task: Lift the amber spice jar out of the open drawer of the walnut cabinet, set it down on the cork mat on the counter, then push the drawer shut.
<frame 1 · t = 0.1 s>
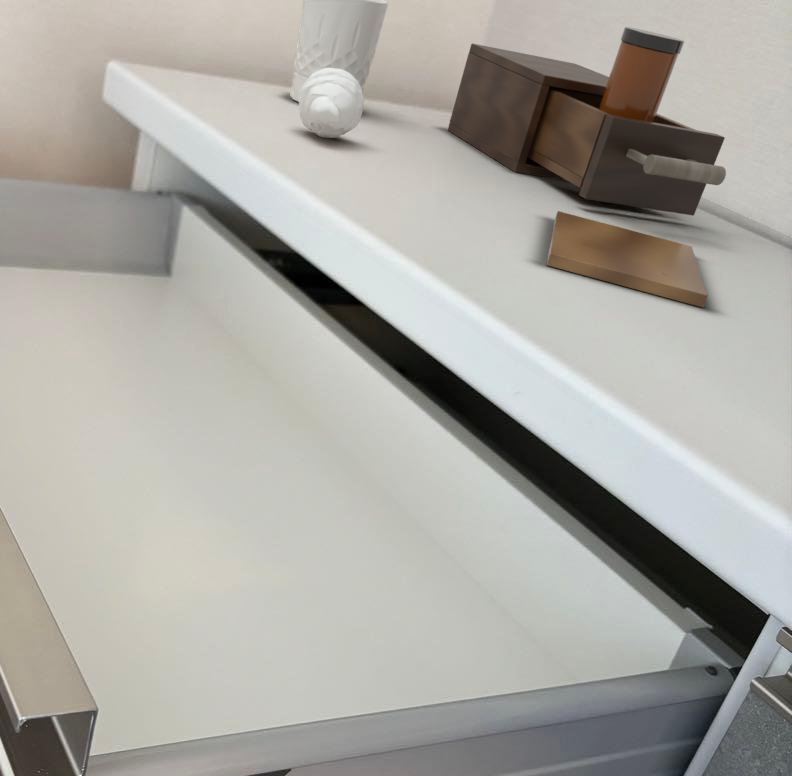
white tapered cylinder: (322, 106, 108), on the table
cork mat: (621, 260, 75), on the table
cabinet: (532, 158, 104), on the table
drawer: (622, 152, 91), point 4 cm above the table, slide at 10.0 cm, touching spice jar
spice jar: (605, 172, 93), point 2 cm above the table, touching drawer
garlic bulb: (322, 142, 92), on the table
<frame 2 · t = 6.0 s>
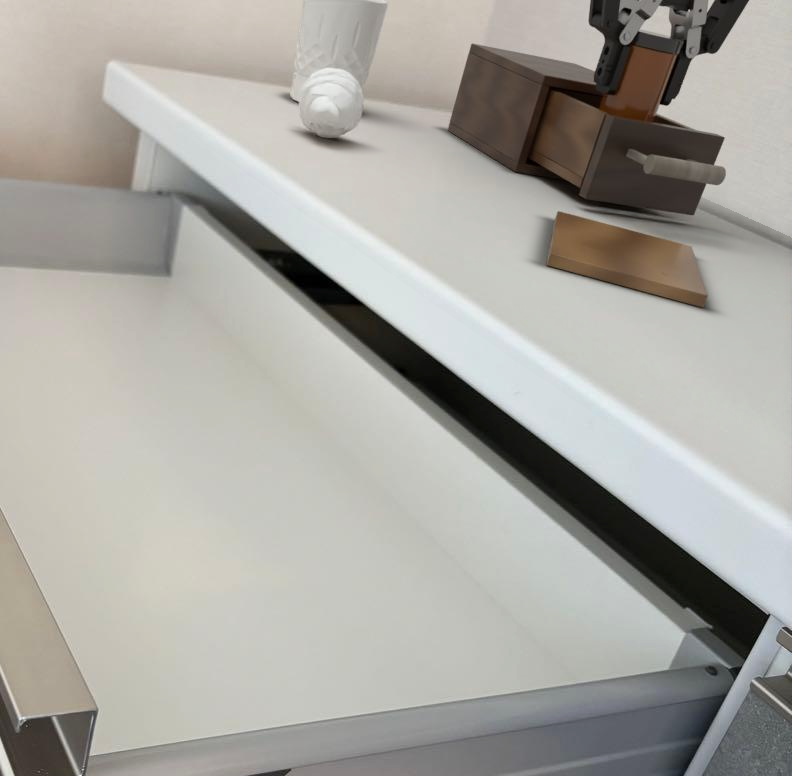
hand: (632, 97, 90), 8 cm above the table, tool pointing down, fingers closed on spice jar, 4 cm apart
spice jar: (605, 172, 93), point 2 cm above the table, touching drawer, gripper
everything else where it was.
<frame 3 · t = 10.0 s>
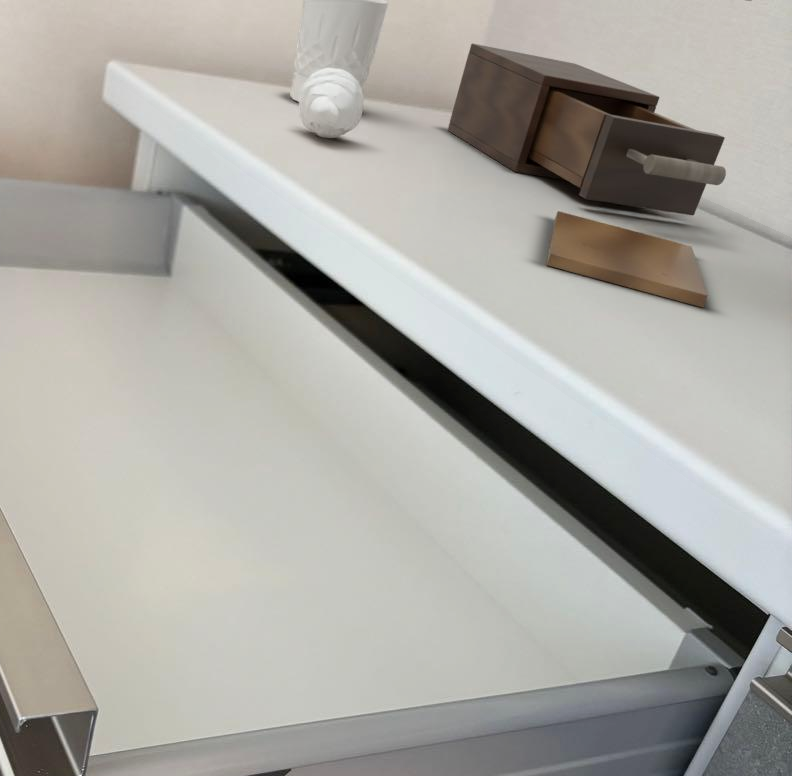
drawer: (622, 152, 91), point 4 cm above the table, slide at 10.0 cm
when the fingers open (7 cm above the table, at t = 14.1 s): spice jar stays where it is, resting on cork mat.
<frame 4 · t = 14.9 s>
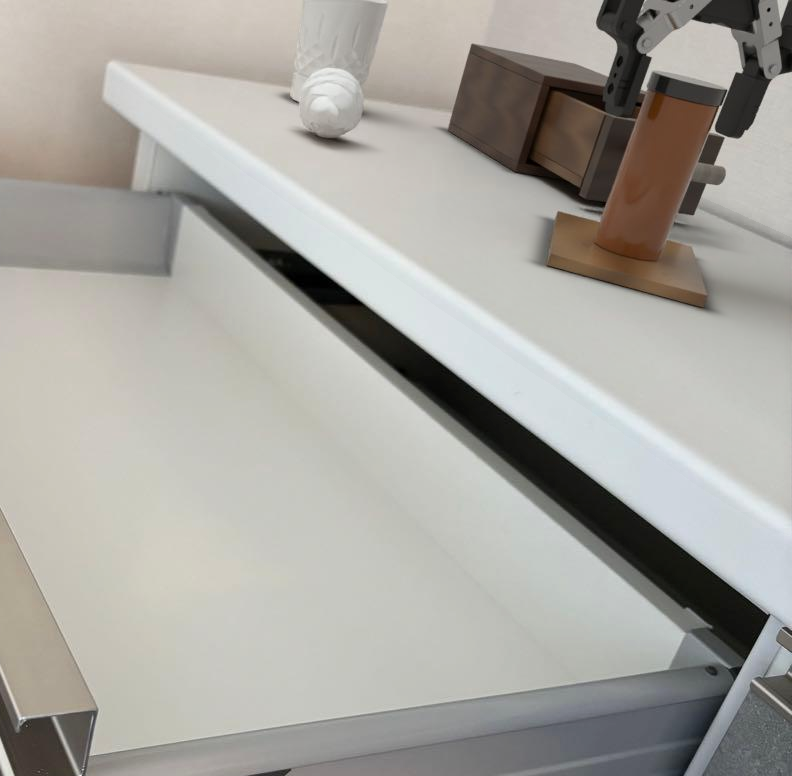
hand: (672, 125, 71), 9 cm above the table, tool pointing down, fingers open, 8 cm apart
spice jar: (626, 249, 75), point 1 cm above the table, touching cork mat
everything else where it was.
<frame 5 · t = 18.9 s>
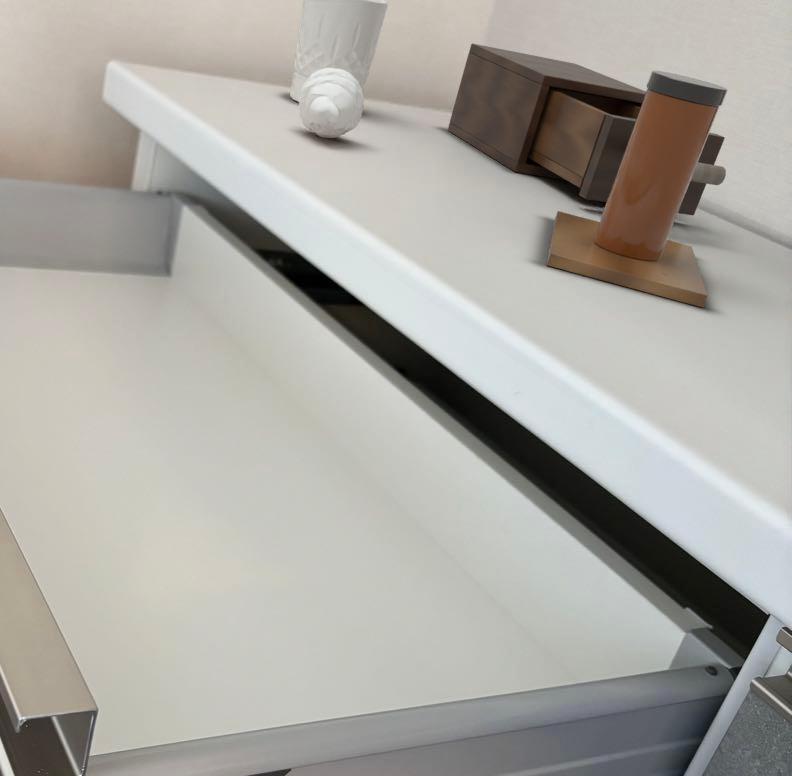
nothing on the table moved.
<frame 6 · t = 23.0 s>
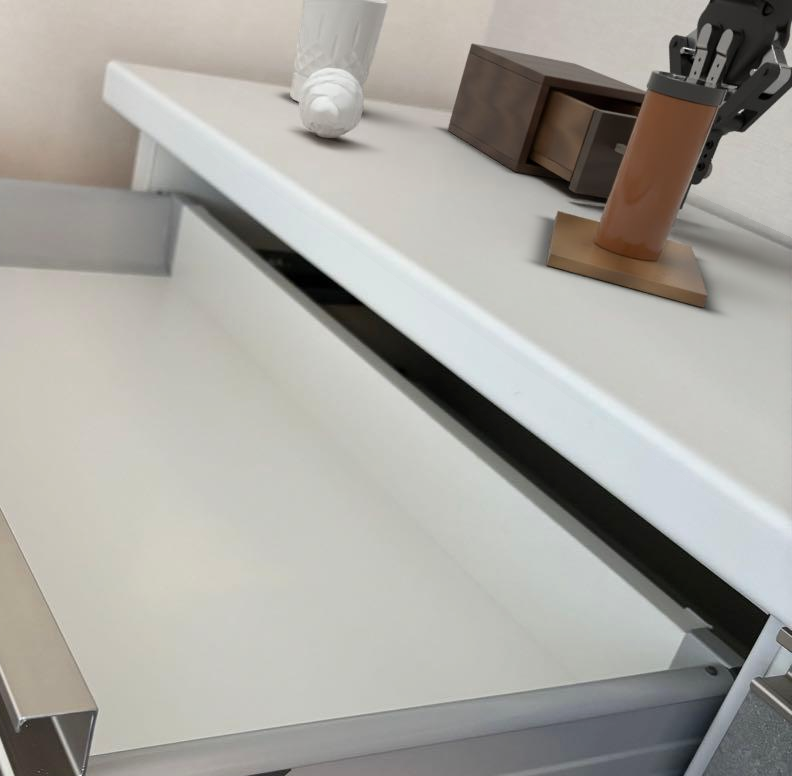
hand: (683, 181, 84), 4 cm above the table, tool pointing down, fingers closed
drawer: (612, 146, 93), point 4 cm above the table, slide at 8.2 cm, touching gripper
everything else where it was.
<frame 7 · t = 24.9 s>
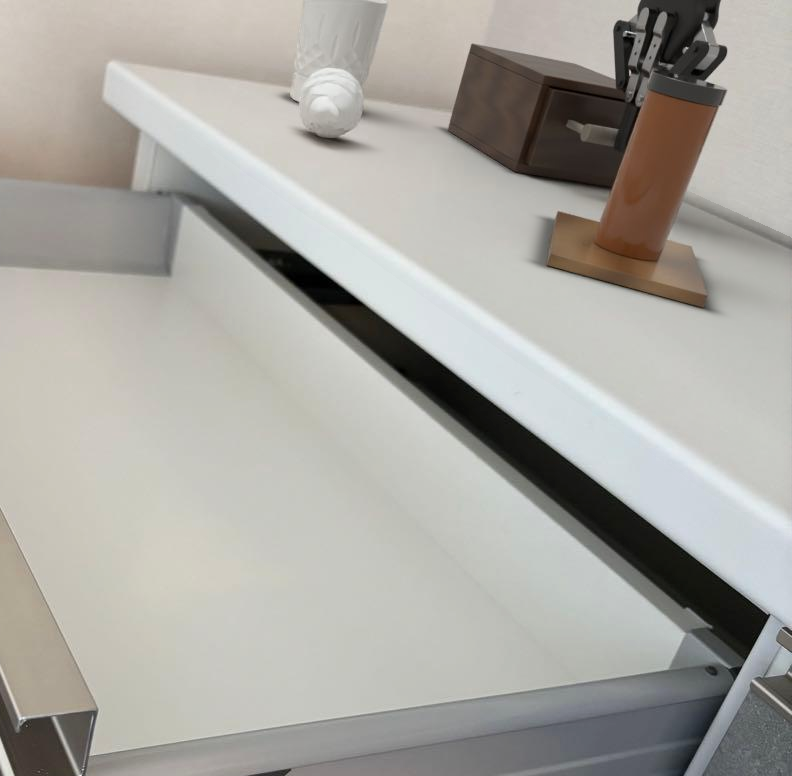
hand: (628, 154, 91), 4 cm above the table, tool pointing down, fingers closed
drawer: (566, 124, 99), point 4 cm above the table, slide at 0.0 cm, touching cabinet, gripper
everything else where it was.
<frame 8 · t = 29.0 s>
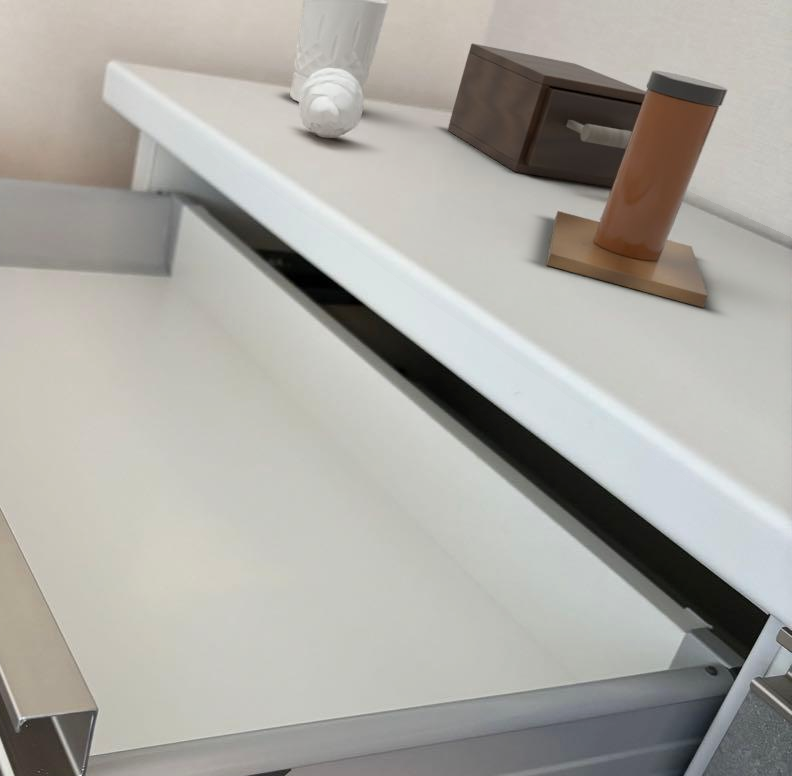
drawer: (566, 124, 99), point 4 cm above the table, slide at 0.0 cm, touching cabinet
everything else where it was.
at the end: spice jar inside the target area on the cork mat (0.0 cm from its centre), point 0.8 cm above the cork mat's base; spice jar tilted 0°; drawer slide at 0.0 cm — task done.
